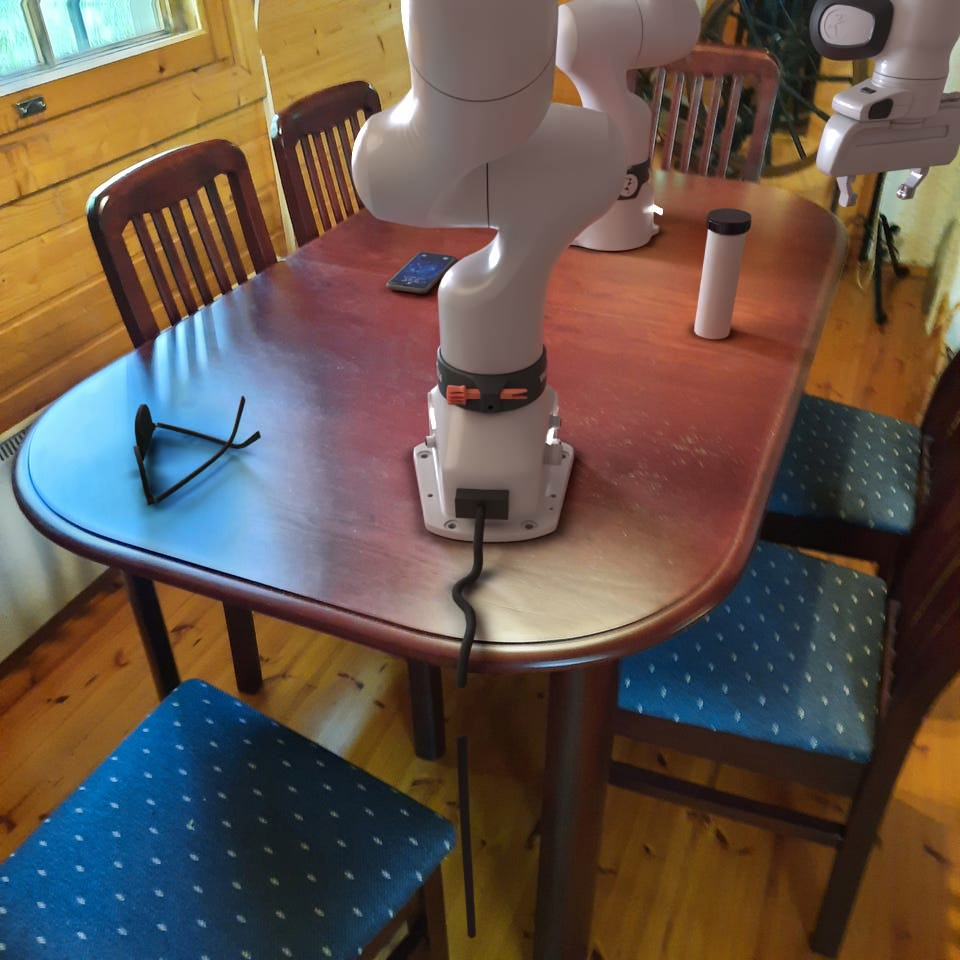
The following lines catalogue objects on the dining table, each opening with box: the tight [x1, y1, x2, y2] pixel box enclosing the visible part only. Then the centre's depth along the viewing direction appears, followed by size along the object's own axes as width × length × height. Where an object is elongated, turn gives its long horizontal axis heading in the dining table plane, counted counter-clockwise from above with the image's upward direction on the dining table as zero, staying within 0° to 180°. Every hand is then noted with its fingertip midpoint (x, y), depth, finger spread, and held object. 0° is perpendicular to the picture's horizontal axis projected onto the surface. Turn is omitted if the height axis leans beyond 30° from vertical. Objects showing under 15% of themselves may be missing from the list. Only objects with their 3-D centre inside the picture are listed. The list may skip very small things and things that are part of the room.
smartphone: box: [386, 251, 457, 295], centre depth 143 cm, size 7×1×15 cm
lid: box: [705, 207, 753, 235], centre depth 115 cm, size 6×6×2 cm
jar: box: [693, 228, 747, 340], centre depth 120 cm, size 5×5×17 cm
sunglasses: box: [132, 395, 262, 506], centre depth 100 cm, size 17×14×5 cm
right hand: (875, 201), depth 120 cm, fingers open, 8 cm apart
